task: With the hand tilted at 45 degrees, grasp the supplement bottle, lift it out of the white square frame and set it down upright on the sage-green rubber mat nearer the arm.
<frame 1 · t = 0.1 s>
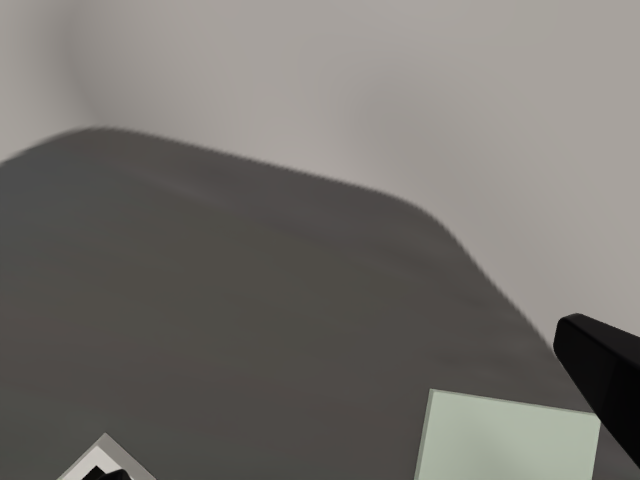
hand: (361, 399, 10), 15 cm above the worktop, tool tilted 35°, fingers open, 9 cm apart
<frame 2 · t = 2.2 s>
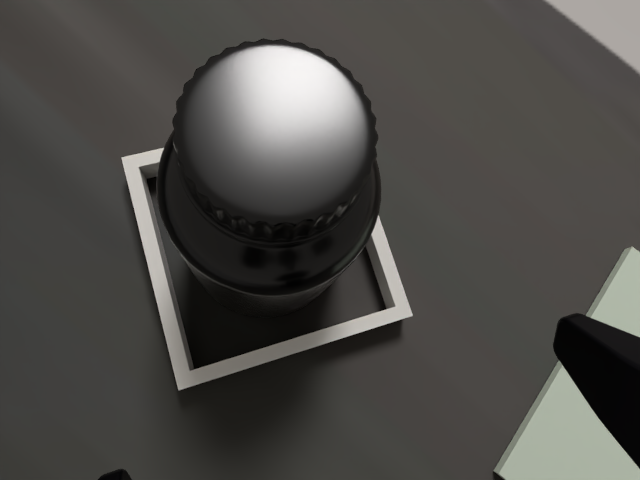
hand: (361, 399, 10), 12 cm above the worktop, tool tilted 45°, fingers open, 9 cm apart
supplement bottle: (266, 245, 23), resting in white square frame
white square frame: (266, 244, 23), on the worktop
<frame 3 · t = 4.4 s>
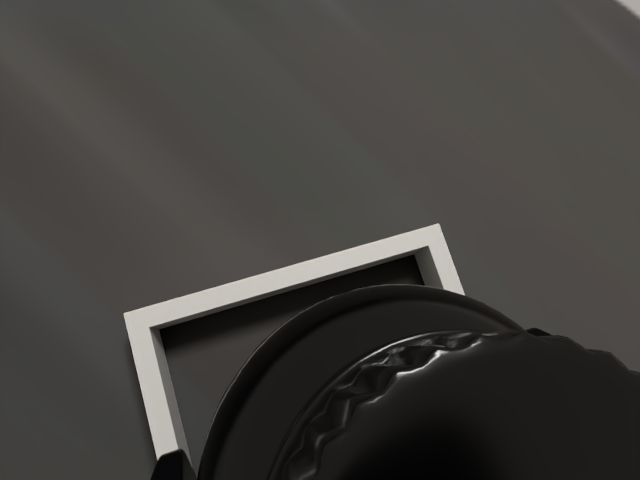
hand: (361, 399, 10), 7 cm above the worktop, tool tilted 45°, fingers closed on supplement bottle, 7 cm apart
supplement bottle: (331, 422, 16), resting in white square frame, touching gripper
white square frame: (332, 423, 16), on the worktop
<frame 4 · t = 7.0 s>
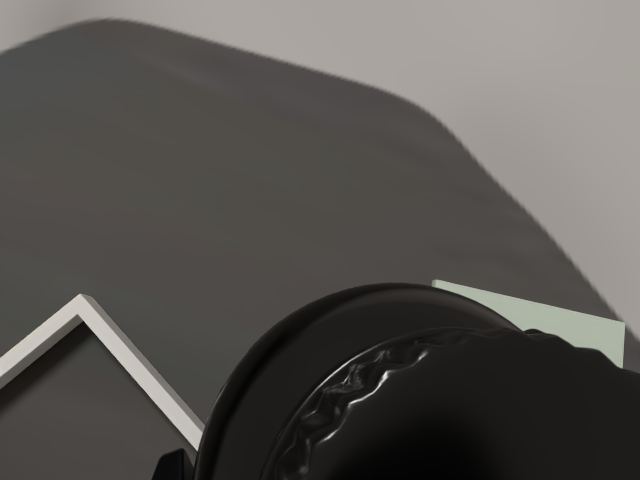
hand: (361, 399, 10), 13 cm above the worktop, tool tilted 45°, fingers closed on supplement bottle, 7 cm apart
mat: (512, 436, 23), on the worktop
supplement bottle: (329, 421, 16), point 7 cm above the worktop, touching gripper
white square frame: (69, 468, 20), on the worktop
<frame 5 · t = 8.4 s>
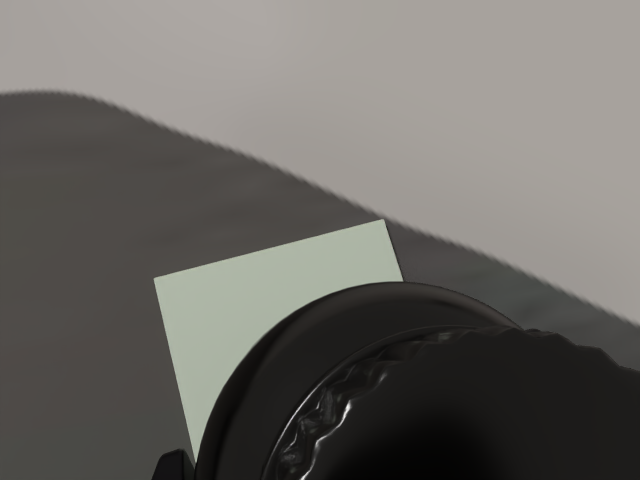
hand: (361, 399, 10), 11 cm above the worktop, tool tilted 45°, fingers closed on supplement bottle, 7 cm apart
mat: (314, 400, 20), on the worktop
supplement bottle: (331, 419, 16), point 4 cm above the worktop, touching gripper
when the fingers open (8 cm above the worktop, at t = 9.5 s): supplement bottle drops 1 cm, resting on mat.
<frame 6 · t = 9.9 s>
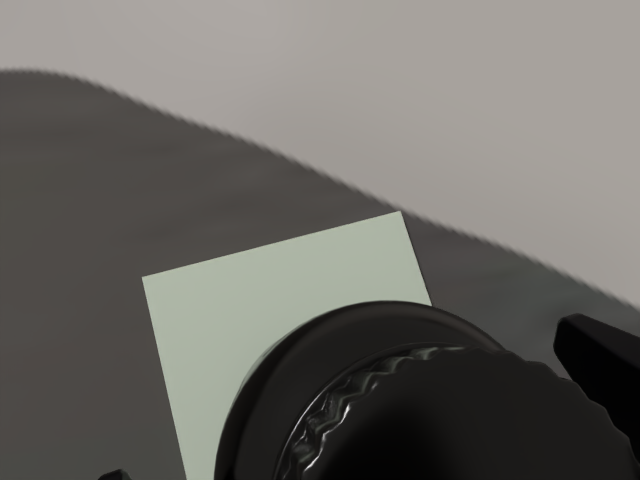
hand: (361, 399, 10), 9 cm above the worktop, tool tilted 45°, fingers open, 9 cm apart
mat: (324, 415, 18), on the worktop
supplement bottle: (329, 420, 17), resting on mat
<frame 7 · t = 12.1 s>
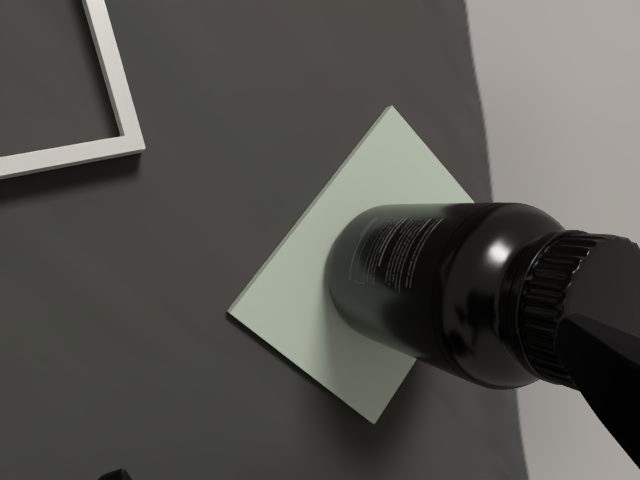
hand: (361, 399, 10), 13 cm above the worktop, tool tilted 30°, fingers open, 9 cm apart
mat: (377, 265, 25), on the worktop
supplement bottle: (380, 270, 25), resting on mat
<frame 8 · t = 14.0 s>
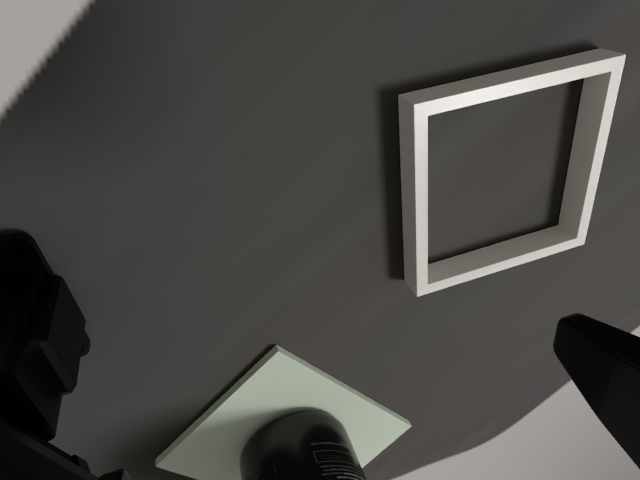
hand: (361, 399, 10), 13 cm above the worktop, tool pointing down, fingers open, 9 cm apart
mat: (293, 437, 30), on the worktop
supplement bottle: (291, 442, 30), resting on mat
white square frame: (494, 173, 24), on the worktop
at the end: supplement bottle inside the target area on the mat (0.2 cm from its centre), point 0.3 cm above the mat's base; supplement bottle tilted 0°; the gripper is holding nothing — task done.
